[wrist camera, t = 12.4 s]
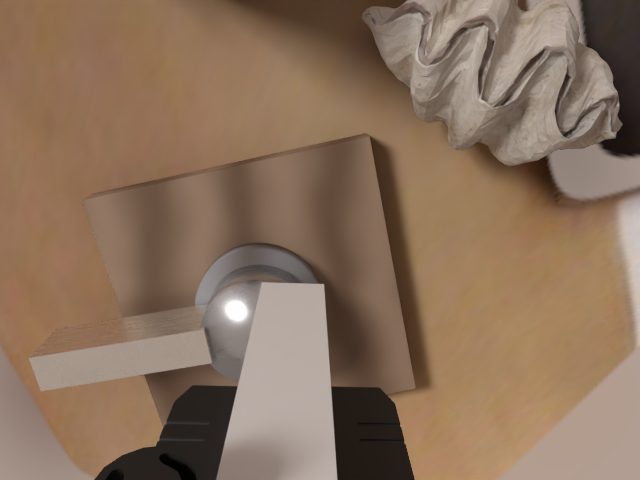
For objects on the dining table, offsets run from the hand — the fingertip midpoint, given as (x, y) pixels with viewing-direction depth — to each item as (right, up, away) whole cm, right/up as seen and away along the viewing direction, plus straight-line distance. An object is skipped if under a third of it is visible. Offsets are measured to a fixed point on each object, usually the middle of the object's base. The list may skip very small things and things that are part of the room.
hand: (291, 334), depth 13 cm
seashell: (+11, +14, +24) cm, 30 cm away
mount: (-5, -2, +27) cm, 28 cm away
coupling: (-9, -4, +24) cm, 26 cm away
